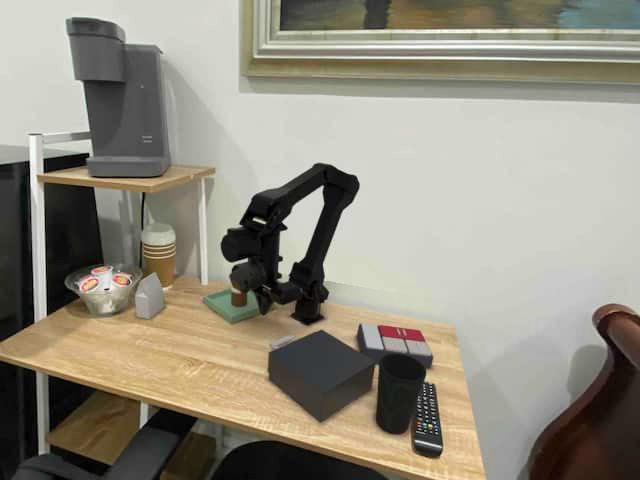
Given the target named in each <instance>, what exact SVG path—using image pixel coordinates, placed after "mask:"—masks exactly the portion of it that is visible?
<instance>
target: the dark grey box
mask: <svg viewBox="0 0 640 480" xmlns="http://www.w3.org/2000/svg"><path fill="white" fill-rule="evenodd" d="M314 332H315V333H313V332H311V333H312V334H311V333H309V334H310V335H309V334H307V335H308V336H306V335H305V336H306V337H304V336H302V337H303V338H302V337H300V338H301V339H300V338H298V339H299V340H297V339H296V340H297V341H294V342H292V341H291V342H292V343H291V342H289V343H290V344H288V343H287V344H288V345H286V344H284V345H285V346H284V345H282V346H283V347H281V346H280V347H281V348H279V349H276V350H275V349H273V350H274V351H272V350H271V351H272V352H270V351H269V352H270V368H269V372H268V380H269V381H270V382H271V383H272V384H273V385H275V386H276V387H277V388H278V389H280V391H282V392H283V393H284V394H285V395H286V396H288V397H289V398H290V399H291V400H293V401H294V402H295V403H296V404H298V405H299V406H300V407H301V408H302V409H304V410H305V411H306V412H307V413H308V414H310V416H312V417H313V418H314V419H315V420H316V421H318V422H319V423H323V422H324V421H325V420H327V419H328V418H330V417H332V416H333V415H336V413H338V412H339V411H341V410H343V409H344V408H346V407H347V406H349V405H350V404H351V403H353V402H354V401H356V400H358V399H359V398H361V397H363V395H365V394H366V393H368V392H370V391H371V390H372V387H373V382H374V376H375V369H376V365H377V364H376V362H375V361H374V360H372V359H370V358H369V357H367V356H365V355H364V354H362V353H360V350H357V349H355V348H353V347H352V346H350V345H349V344H347V343H345V342H344V341H343V340H340V339H338V338H337V337H335V336H333V335H332V334H331V333H328V331H325V330H323V328H322V329H319V330H316V331H314Z"/></svg>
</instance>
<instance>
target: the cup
mask: <svg viewBox="0 0 640 480" xmlns="http://www.w3.org/2000/svg"><path fill="white" fill-rule="evenodd" d="M427 372H428V371H427V368H425V367H424V366H423V364H421V363H420V362H419V361H418V360H416V359H415V358H412V357H410V356H407V355H404V354H396V353H393V354H387V355H385V356H383V357H382V358H381V359H380V361H379V364H378V376H377V393H376V409H375V410H376V411H375V422H376V425H377V426H378V427H379V428H380V429H381V430H382V431H383V432H385V433H388V434H390V435H402V434H404V433H406V432H407V431H408V429H409V426H410V424H411V423H410V422H411V420H412V417H413V414H414V411H415V409H416V406H417V403H418V400H419V397H420V394H421V391H422V389H423V385H424V383H425V381H426V378H427Z"/></svg>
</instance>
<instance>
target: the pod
mask: <svg viewBox="0 0 640 480" xmlns="http://www.w3.org/2000/svg"><path fill="white" fill-rule="evenodd" d="M230 288H231V305H232V306H234V307H244V306H246V305H247V293H241V292H240V291H238V290H237V289H234V288H233V286H231V287H230Z"/></svg>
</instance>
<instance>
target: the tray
mask: <svg viewBox="0 0 640 480" xmlns="http://www.w3.org/2000/svg"><path fill="white" fill-rule="evenodd" d="M231 288H232V287H229V288H225V289H221V290H217V291H215V292H211V293H207V294H204V295H203V296H202V302H203V303H204V304H205V305H206V306H207V307H209V308H210V309H212V310H213V311H214V312H216V313H217V314H218V315H220V316H221V317H222V318H223V319H225V320H226V321H228V322H229V323H230V324H235V323H237V322H240V321H243V320H245V319H248V318H252V317H254V316H256V315H259V314H260V315H261V313H260V310H259V307H258V304H257V301H256V298H255V295H254V293H253V292H252V291H251V290H249V292H247V305H246V306H244V307H234V306H232V305H231ZM274 309H276V302H273V304H272V306H271V308H270V309H269V311H271V310H274Z"/></svg>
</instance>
